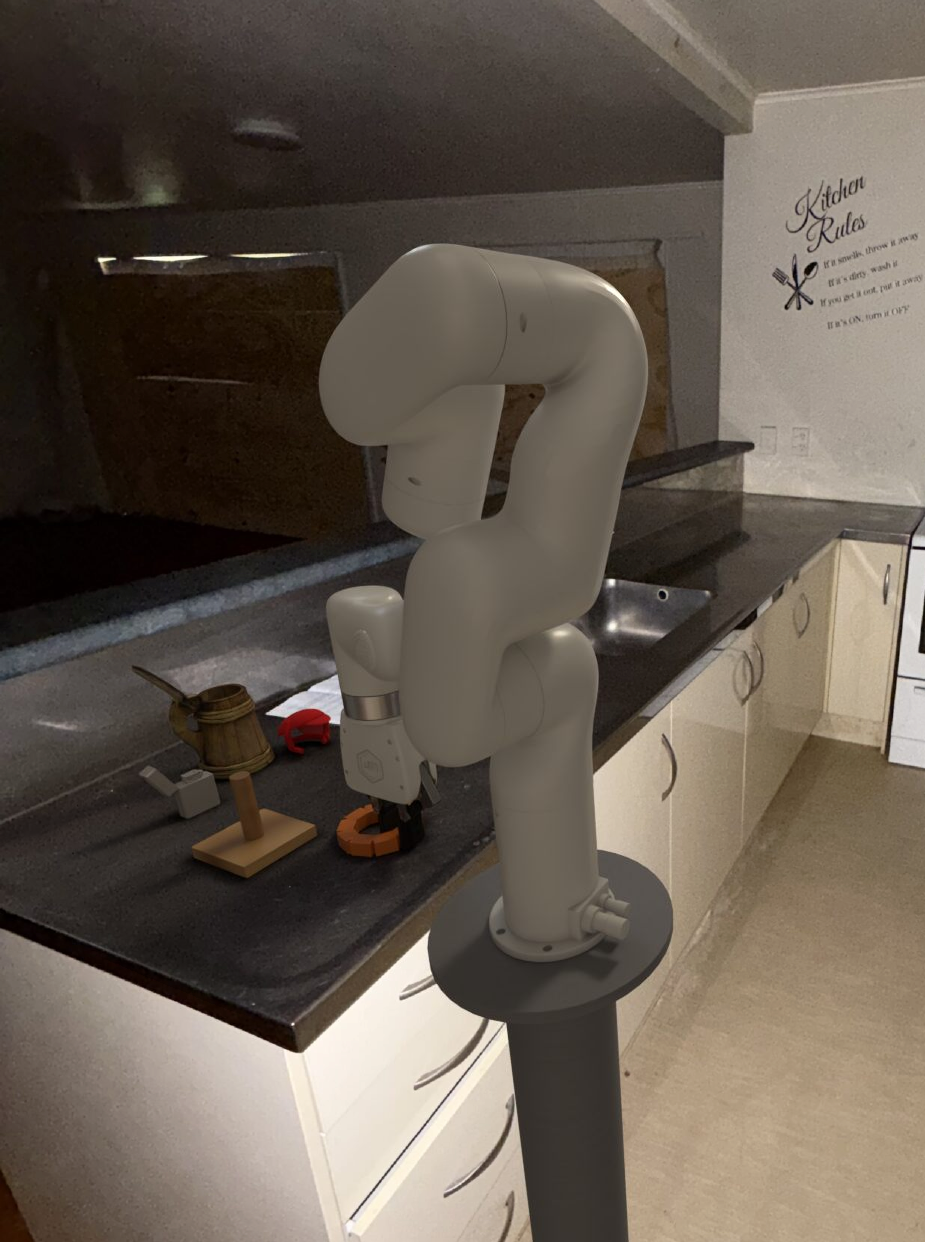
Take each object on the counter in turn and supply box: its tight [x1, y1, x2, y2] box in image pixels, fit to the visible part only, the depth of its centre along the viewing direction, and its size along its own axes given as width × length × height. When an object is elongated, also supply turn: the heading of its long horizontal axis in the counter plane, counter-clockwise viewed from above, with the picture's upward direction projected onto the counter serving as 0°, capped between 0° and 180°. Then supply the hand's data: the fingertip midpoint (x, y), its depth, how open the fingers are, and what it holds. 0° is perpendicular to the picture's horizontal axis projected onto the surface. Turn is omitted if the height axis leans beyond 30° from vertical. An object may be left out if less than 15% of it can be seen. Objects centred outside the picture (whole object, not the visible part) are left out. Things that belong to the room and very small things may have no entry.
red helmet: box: [276, 708, 332, 755], centre depth 110 cm, size 8×6×6 cm
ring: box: [335, 801, 424, 858], centre depth 90 cm, size 9×10×2 cm
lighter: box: [138, 765, 221, 819], centre depth 92 cm, size 7×2×8 cm, turn 153°
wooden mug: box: [131, 664, 275, 781], centre depth 101 cm, size 9×14×18 cm, turn 148°
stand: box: [190, 771, 318, 879], centre depth 86 cm, size 9×9×10 cm
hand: (403, 839), depth 89 cm, fingers closed on ring, 2 cm apart
